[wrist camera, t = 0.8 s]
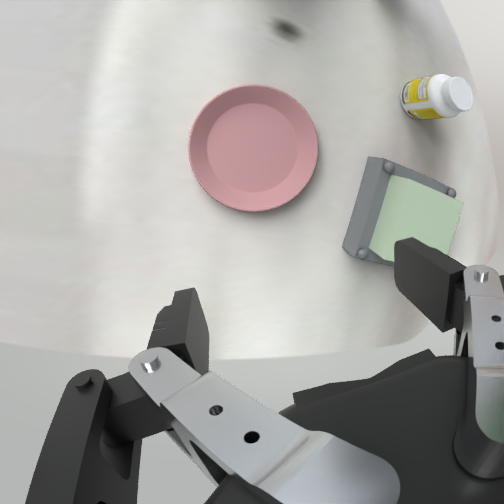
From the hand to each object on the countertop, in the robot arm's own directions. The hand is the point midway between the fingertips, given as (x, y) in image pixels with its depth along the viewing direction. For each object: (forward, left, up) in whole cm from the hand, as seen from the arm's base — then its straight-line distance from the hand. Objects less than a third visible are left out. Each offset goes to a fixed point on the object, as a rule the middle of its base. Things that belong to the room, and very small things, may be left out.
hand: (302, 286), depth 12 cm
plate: (-5, 0, -26) cm, 27 cm away
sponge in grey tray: (-2, +20, -26) cm, 32 cm away
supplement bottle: (-18, +19, -26) cm, 37 cm away
